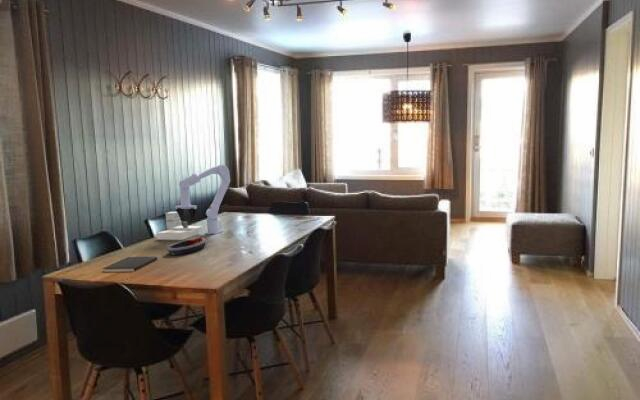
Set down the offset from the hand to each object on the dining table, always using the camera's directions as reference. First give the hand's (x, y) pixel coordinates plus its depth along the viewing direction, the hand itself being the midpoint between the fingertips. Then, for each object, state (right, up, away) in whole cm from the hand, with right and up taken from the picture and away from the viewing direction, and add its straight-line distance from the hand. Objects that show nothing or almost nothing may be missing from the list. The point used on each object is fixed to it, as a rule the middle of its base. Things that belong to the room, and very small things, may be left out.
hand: (187, 220), depth 337 cm
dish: (+12, -15, -45) cm, 48 cm away
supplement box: (-14, -8, +24) cm, 29 cm away
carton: (-5, -11, -4) cm, 12 cm away
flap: (-1, -5, +6) cm, 8 cm away
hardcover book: (-9, -20, -75) cm, 78 cm away
